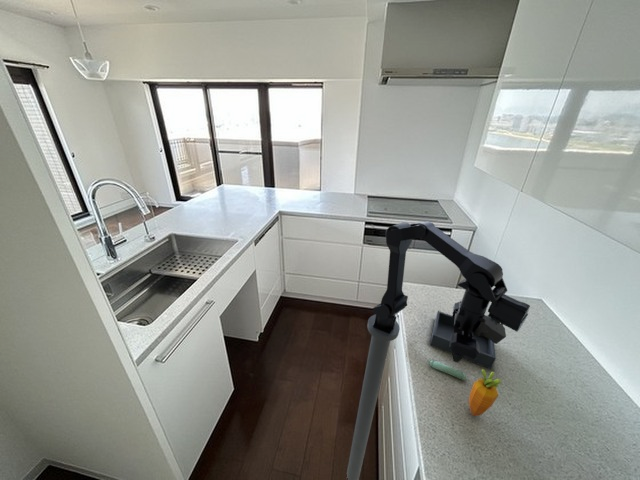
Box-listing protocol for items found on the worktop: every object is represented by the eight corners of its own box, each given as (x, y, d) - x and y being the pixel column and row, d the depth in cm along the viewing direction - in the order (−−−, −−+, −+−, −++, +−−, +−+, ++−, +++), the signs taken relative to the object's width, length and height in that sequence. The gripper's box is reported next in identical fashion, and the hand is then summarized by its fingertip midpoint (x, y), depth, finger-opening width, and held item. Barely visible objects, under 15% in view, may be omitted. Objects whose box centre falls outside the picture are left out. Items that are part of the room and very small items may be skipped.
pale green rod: (428, 366, 77) (430, 362, 77) (429, 362, 79) (430, 357, 78) (465, 382, 73) (467, 378, 72) (465, 377, 75) (467, 372, 74)
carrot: (458, 405, 67) (475, 366, 61) (475, 404, 68) (495, 365, 61) (469, 425, 63) (490, 385, 56) (488, 424, 63) (510, 384, 57)
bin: (429, 345, 85) (433, 334, 83) (434, 320, 96) (437, 310, 94) (490, 369, 78) (495, 358, 76) (488, 339, 89) (493, 329, 87)
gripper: (515, 344, 55) (490, 390, 62) (505, 297, 70) (486, 339, 77) (458, 324, 60) (441, 369, 67) (461, 284, 75) (446, 325, 82)
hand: (456, 349), depth 73 cm, fingers open, 9 cm apart
